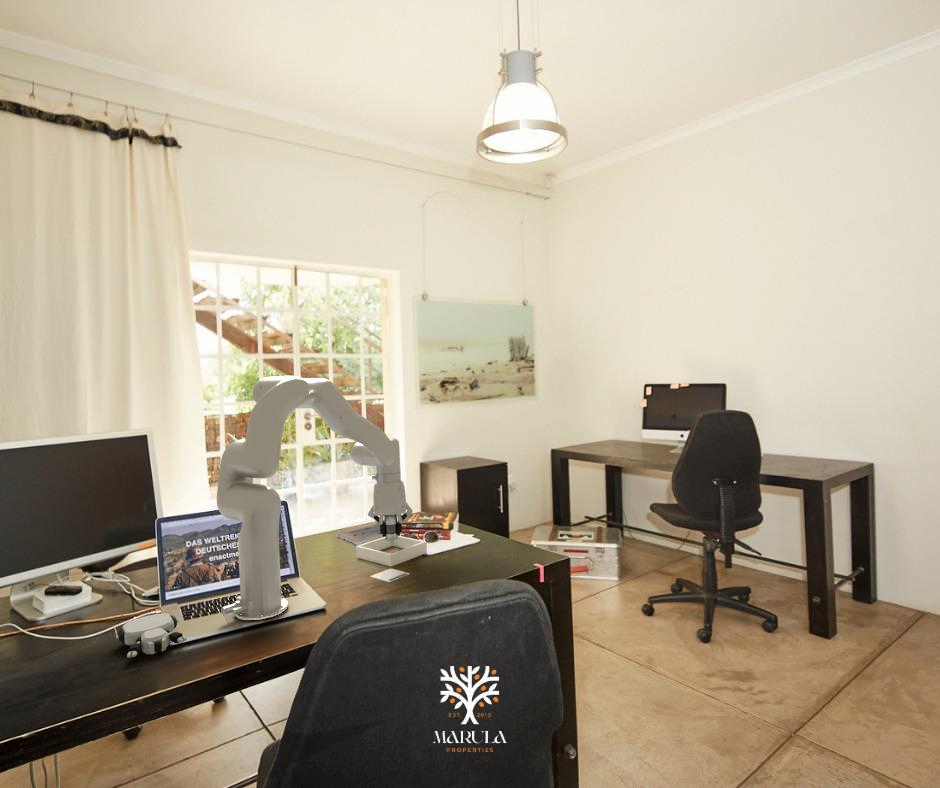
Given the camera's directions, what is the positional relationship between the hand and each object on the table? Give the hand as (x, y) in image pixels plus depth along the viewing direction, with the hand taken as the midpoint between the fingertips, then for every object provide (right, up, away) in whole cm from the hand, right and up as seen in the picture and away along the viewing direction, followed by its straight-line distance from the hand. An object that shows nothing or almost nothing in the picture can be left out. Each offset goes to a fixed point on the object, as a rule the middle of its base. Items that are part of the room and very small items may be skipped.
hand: (391, 534), depth 182 cm
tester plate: (+2, -8, -18) cm, 20 cm away
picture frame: (-10, -8, +27) cm, 30 cm away
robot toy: (-45, -11, -55) cm, 72 cm away
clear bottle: (0, -1, 0) cm, 1 cm away
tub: (0, -7, 0) cm, 7 cm away
